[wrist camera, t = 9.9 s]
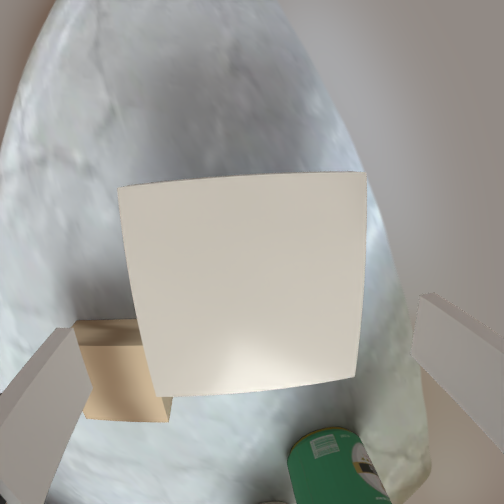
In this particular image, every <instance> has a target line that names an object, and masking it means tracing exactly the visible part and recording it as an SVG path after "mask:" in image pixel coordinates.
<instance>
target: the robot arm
mask: <svg viewBox="0 0 504 504" xmlns="http://www.w3.org/2000/svg"><path fill="white" fill-rule="evenodd" d="M410 355H411V356H412V357H413V358H414V359H415V360H416V361H417V362H418V363H419V364H420V365H421V366H422V367H423V368H424V369H425V370H426V371H427V372H428V373H429V374H430V375H431V376H432V377H433V379H434V380H435V381H436V382H437V383H438V384H439V385H440V386H441V387H442V388H443V389H444V390H445V391H446V392H447V393H448V394H449V395H450V396H451V397H452V398H453V399H454V400H455V401H456V402H457V404H459V406H460V407H461V408H462V409H463V410H464V411H465V412H466V413H467V414H468V415H469V416H470V417H471V418H472V419H473V421H474V422H476V424H477V425H478V426H479V427H480V428H481V429H482V430H483V431H484V433H485V434H487V436H488V437H489V438H490V439H491V440H492V441H493V442H494V443H495V444H496V446H497V447H498V448H499V449H500V450H501V451H502V452H503V454H504V338H503V337H502V336H500V335H499V334H497V333H496V332H495V331H493V330H492V329H490V328H489V327H487V326H486V325H484V324H483V323H481V322H479V321H478V320H476V319H475V318H473V317H472V316H470V315H469V314H467V313H466V312H464V311H463V310H461V309H459V308H458V307H456V306H455V305H453V304H452V303H450V302H448V301H447V300H445V299H444V298H442V297H440V296H439V295H437V294H435V293H428V294H423V295H419V303H418V310H417V317H416V323H415V329H414V335H413V341H412V346H411V352H410ZM92 389H93V387H92V384H91V381H90V378H89V376H88V373H87V370H86V367H85V364H84V361H83V358H82V355H81V352H80V348H79V345H78V342H77V338H76V335H75V332H74V328H56V329H55V330H54V331H53V333H52V334H51V335H50V336H49V337H48V338H47V339H46V341H45V342H44V343H43V344H42V345H41V346H40V348H39V349H38V350H37V351H36V352H35V353H34V355H33V356H32V357H31V358H30V359H29V361H28V362H27V363H26V364H25V365H24V367H23V368H22V369H21V370H20V371H19V373H18V374H17V375H16V376H15V378H14V379H13V380H12V381H11V383H10V384H9V385H8V386H7V388H6V389H5V390H4V392H3V393H0V504H5V503H6V502H7V503H8V504H44V501H45V499H46V496H47V493H48V491H49V488H50V486H51V483H52V481H53V478H54V475H55V473H56V470H57V468H58V466H59V463H60V461H61V458H62V456H63V454H64V451H65V449H66V446H67V444H68V442H69V440H70V437H71V435H72V433H73V430H74V428H75V426H76V424H77V422H78V419H79V417H80V415H81V413H82V411H83V408H84V406H85V404H86V402H87V400H88V398H89V396H90V394H91V391H92Z"/></svg>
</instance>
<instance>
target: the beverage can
mask: <svg viewBox="0 0 504 504" xmlns="http://www.w3.org/2000/svg"><path fill="white" fill-rule="evenodd" d="M287 465H288V470H289V474H290V478H291V482H292V486H293V490H294V495H295V499H296V503H297V504H392V503H391V501H390V499H389V497H388V495H387V493H386V491H385V488H384V486H383V484H382V482H381V480H380V478H379V476H378V474H377V472H376V470H375V468H374V466H373V464H372V462H371V460H370V458H369V456H368V454H367V452H366V450H365V448H364V446H363V443H362V441H361V439H360V438H359V437H358V436H357V435H356V434H354V433H352V432H350V431H349V430H347V429H345V428H341V427H329V428H324V429H320V430H317V431H314V432H312V433H310V434H308V435H306V436H304V437H303V438H301V439H300V440H299V441H298V442H297V443H296V444H295V445H294V446H293V447H292V449H291V452H290V456H289V458H288V461H287Z"/></svg>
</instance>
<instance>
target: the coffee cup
mask: <svg viewBox="0 0 504 504" xmlns="http://www.w3.org/2000/svg"><path fill="white" fill-rule="evenodd" d="M260 504H287V503H284V502H265V503H260Z"/></svg>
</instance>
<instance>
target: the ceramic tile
mask: <svg viewBox="0 0 504 504" xmlns="http://www.w3.org/2000/svg"><path fill="white" fill-rule="evenodd" d="M117 191H118V201H119V210H120V219H121V227H122V234H123V242H124V249H125V255H126V262H127V268H128V274H129V280H130V285H131V291H132V296H133V301H134V306H135V311H136V316H137V321H138V326H139V330H140V335H141V339H142V343H143V348H144V352H145V356H146V360H147V364H148V368H149V372H150V375H151V379H152V383H153V387H154V390H155V394H156V397H182V396H206V395H222V394H236V393H247V392H257V391H267V390H275V389H283V388H291V387H298V386H305V385H312V384H318V383H324V382H330V381H335V380H341V379H346V378H351V377H355V371H356V363H357V355H358V347H359V338H360V328H361V318H362V306H363V293H364V278H365V259H366V228H367V176H366V172H355V171H318V172H284V173H262V174H244V175H228V176H215V177H202V178H191V179H180V180H170V181H160V182H151V183H142V184H134V185H128V186H123V187H119V188H117Z"/></svg>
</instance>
